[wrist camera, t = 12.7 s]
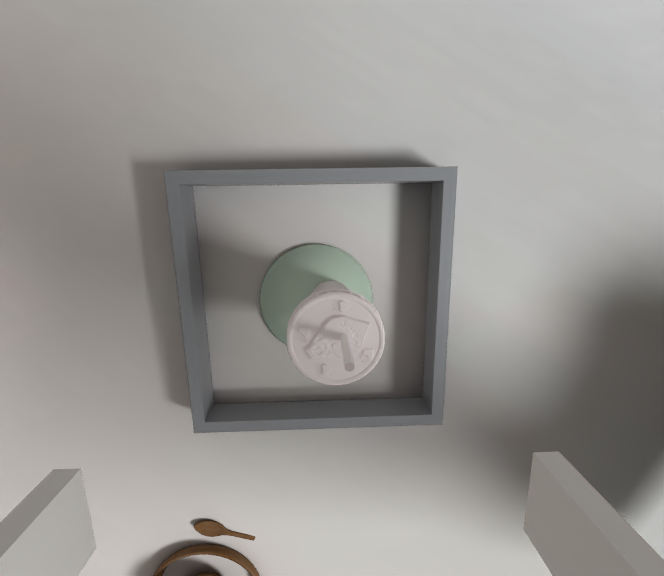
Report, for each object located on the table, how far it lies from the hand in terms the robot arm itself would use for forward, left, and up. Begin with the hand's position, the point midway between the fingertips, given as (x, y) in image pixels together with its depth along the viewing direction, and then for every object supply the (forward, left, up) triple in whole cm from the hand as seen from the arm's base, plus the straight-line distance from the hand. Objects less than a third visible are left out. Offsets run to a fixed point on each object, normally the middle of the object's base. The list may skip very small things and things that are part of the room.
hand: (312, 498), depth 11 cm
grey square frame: (0, 0, -23) cm, 23 cm away
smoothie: (-1, 0, -22) cm, 23 cm away
